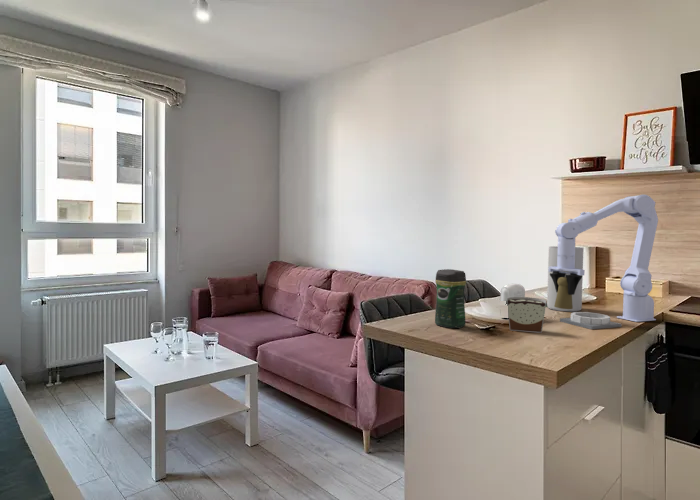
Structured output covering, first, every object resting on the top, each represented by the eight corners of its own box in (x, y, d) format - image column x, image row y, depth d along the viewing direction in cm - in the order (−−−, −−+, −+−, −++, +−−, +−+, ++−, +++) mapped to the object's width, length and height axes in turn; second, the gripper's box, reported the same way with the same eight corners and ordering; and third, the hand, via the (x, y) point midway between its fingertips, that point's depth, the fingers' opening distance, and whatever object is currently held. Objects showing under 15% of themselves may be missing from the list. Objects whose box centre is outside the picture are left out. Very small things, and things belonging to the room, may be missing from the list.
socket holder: (588, 319, 157) (588, 310, 157) (621, 326, 145) (621, 317, 145) (559, 321, 153) (560, 312, 153) (591, 329, 141) (591, 320, 141)
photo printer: (515, 315, 164) (516, 282, 163) (526, 317, 160) (526, 283, 160) (497, 318, 158) (498, 283, 158) (508, 320, 155) (508, 285, 154)
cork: (550, 305, 162) (553, 275, 161) (566, 305, 163) (568, 276, 162) (560, 309, 156) (562, 278, 155) (576, 309, 157) (578, 278, 156)
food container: (545, 329, 141) (546, 298, 141) (547, 333, 135) (548, 300, 135) (504, 326, 145) (505, 295, 145) (504, 329, 139) (505, 298, 139)
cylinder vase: (587, 312, 171) (589, 247, 170) (555, 311, 171) (557, 247, 170) (572, 306, 184) (573, 246, 182) (541, 306, 184) (543, 246, 183)
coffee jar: (469, 326, 143) (470, 270, 142) (453, 330, 139) (454, 271, 138) (446, 321, 151) (447, 267, 150) (430, 324, 147) (431, 268, 146)
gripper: (542, 254, 164) (541, 291, 165) (573, 257, 150) (572, 296, 151) (557, 254, 166) (556, 290, 167) (589, 257, 153) (588, 295, 153)
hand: (565, 293), depth 159 cm, fingers closed on cork, 5 cm apart
